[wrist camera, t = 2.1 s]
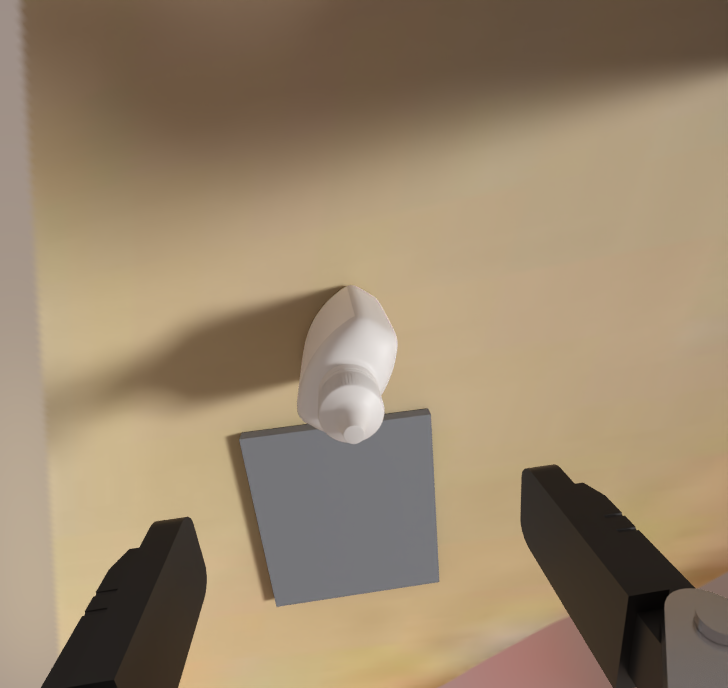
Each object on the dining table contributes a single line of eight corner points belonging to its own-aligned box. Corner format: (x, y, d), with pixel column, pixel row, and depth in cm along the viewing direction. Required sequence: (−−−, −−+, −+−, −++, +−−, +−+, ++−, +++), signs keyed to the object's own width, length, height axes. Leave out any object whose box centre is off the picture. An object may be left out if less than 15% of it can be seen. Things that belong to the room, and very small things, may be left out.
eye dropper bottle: (280, 321, 25) (243, 424, 13) (364, 274, 24) (398, 339, 13) (318, 380, 26) (314, 518, 15) (398, 336, 26) (457, 444, 14)
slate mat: (241, 432, 27) (239, 439, 26) (427, 408, 27) (430, 414, 27) (277, 596, 31) (276, 606, 31) (436, 572, 32) (439, 581, 31)
